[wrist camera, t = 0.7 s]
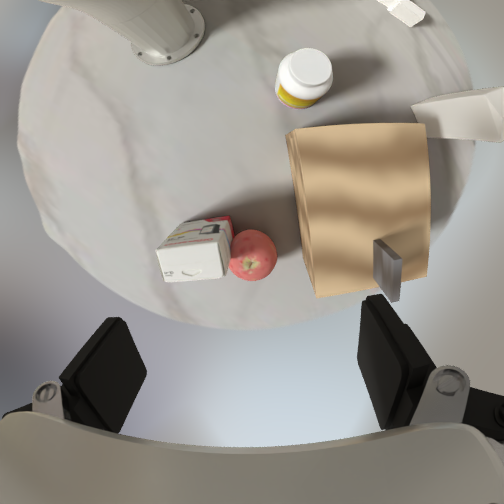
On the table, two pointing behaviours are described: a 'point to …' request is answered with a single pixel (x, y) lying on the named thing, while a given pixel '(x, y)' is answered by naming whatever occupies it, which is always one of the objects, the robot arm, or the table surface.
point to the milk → (464, 115)
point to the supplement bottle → (303, 78)
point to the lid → (366, 205)
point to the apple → (252, 255)
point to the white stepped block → (404, 11)
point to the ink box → (197, 250)
